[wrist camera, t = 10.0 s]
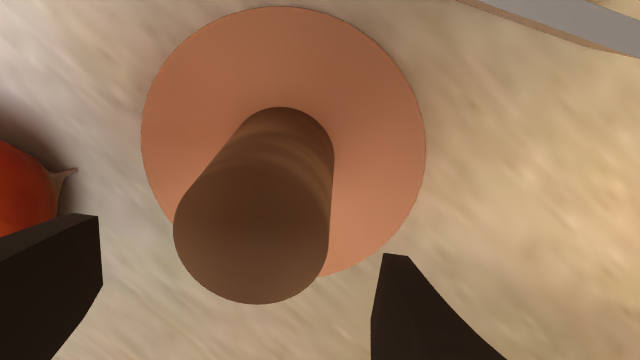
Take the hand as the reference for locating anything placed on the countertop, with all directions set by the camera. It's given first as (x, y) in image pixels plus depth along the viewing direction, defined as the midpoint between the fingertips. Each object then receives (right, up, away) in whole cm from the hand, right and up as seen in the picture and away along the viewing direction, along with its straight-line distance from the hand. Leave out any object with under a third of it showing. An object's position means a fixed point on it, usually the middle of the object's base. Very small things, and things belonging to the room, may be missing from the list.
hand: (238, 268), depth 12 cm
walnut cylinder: (0, +3, +8) cm, 8 cm away
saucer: (+1, +3, +9) cm, 9 cm away
